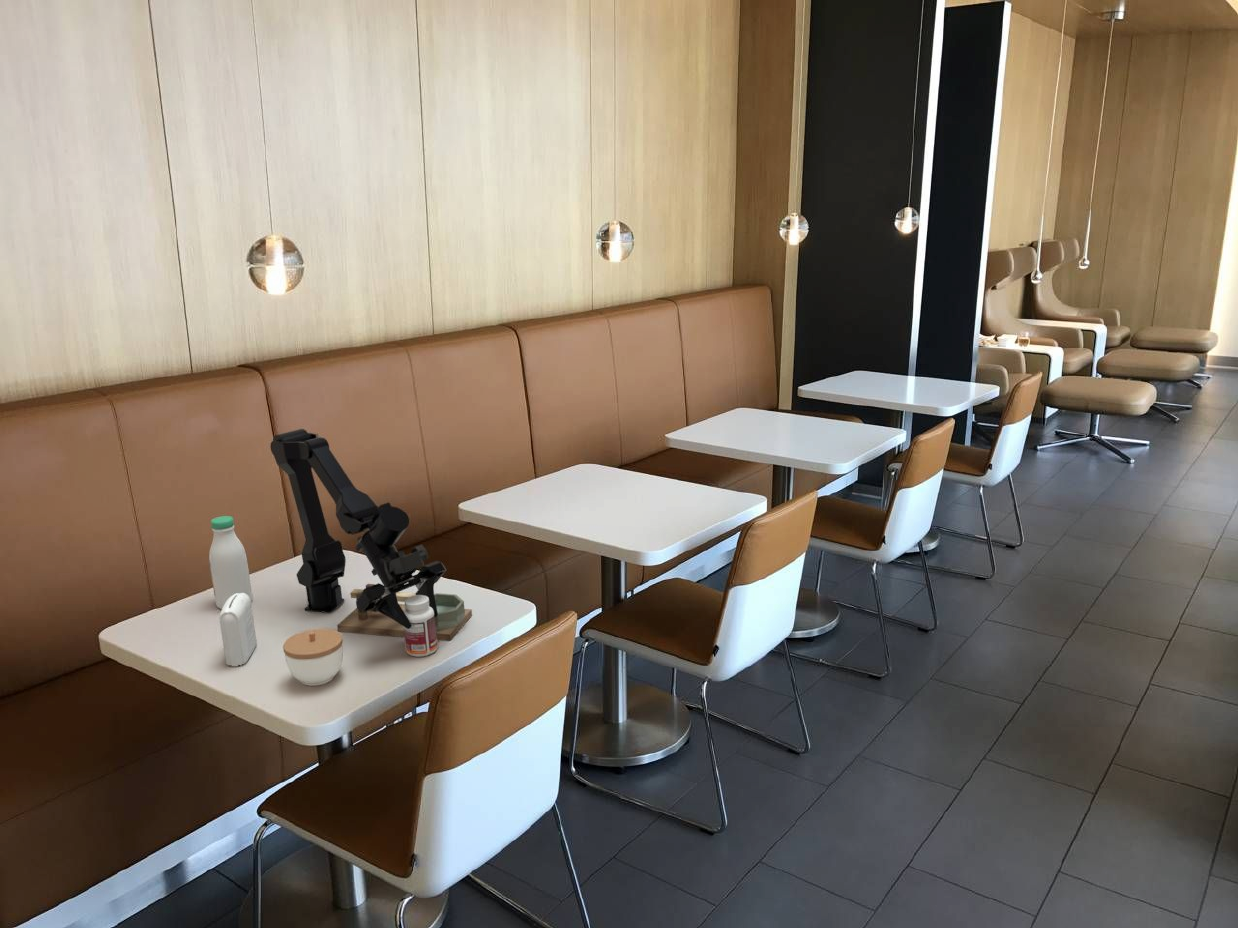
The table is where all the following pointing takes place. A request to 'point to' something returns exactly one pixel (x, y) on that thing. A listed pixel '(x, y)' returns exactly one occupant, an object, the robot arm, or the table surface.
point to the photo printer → (237, 629)
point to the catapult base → (388, 623)
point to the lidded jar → (314, 655)
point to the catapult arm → (438, 608)
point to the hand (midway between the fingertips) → (423, 622)
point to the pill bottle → (420, 627)
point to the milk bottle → (228, 562)
